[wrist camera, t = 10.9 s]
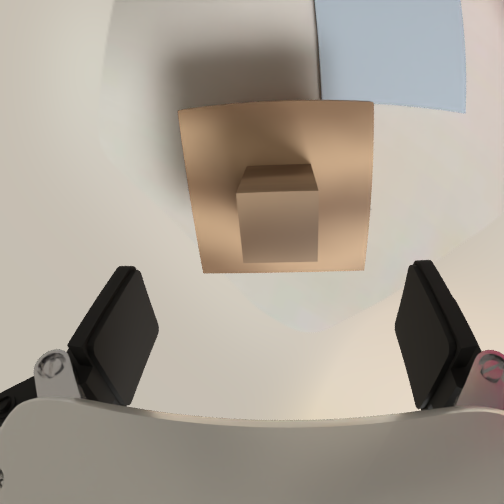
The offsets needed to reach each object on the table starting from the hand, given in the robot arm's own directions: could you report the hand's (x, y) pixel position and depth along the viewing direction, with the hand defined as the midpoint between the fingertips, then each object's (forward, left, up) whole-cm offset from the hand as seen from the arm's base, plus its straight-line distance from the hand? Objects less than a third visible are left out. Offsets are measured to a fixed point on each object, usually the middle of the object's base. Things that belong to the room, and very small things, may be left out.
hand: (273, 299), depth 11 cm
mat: (-11, +10, -18) cm, 23 cm away
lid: (0, 0, -12) cm, 12 cm away
